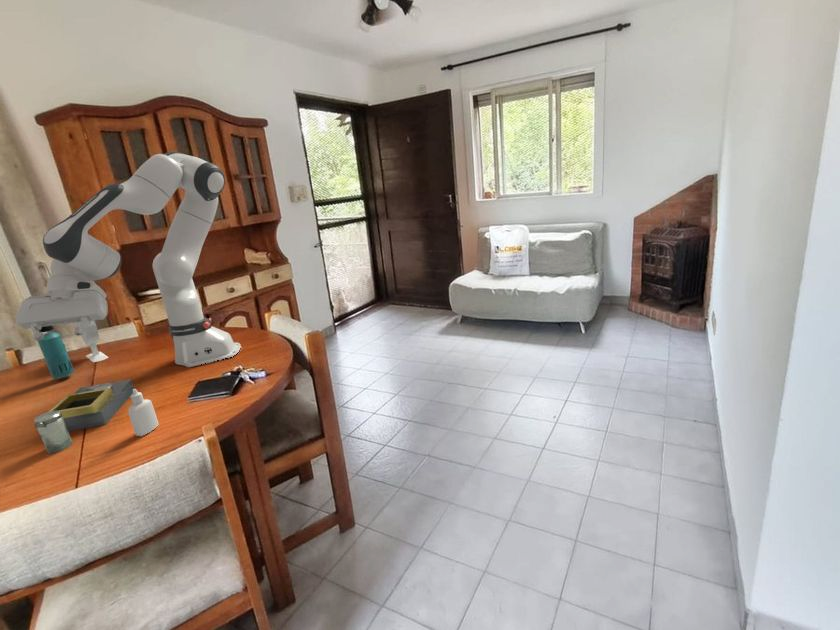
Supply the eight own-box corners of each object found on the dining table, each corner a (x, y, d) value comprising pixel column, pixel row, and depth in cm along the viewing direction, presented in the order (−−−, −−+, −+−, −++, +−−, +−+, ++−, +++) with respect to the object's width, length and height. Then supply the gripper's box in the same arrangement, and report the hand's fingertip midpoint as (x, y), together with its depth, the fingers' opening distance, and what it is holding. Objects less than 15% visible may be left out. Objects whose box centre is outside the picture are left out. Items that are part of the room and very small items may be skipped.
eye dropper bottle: (133, 432, 109) (119, 391, 105) (157, 423, 113) (144, 382, 109) (138, 438, 106) (123, 396, 102) (162, 428, 110) (149, 387, 106)
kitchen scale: (84, 399, 130) (78, 381, 128) (134, 390, 133) (129, 373, 131) (46, 435, 112) (38, 415, 110) (105, 424, 114) (98, 405, 112)
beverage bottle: (63, 382, 144) (41, 327, 137) (47, 382, 145) (25, 328, 139) (81, 374, 150) (61, 321, 143) (66, 373, 151) (46, 321, 145)
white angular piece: (110, 358, 162) (95, 314, 156) (94, 363, 159) (78, 318, 153) (99, 350, 172) (84, 308, 166) (84, 354, 168) (68, 312, 163)
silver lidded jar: (77, 439, 108) (64, 407, 105) (62, 455, 102) (48, 421, 99) (54, 443, 107) (40, 411, 104) (38, 459, 101) (23, 425, 98)
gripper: (14, 291, 113) (3, 337, 107) (101, 282, 117) (95, 326, 111) (30, 303, 118) (21, 347, 112) (112, 294, 123) (107, 336, 116)
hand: (58, 337), depth 112 cm, fingers open, 8 cm apart
